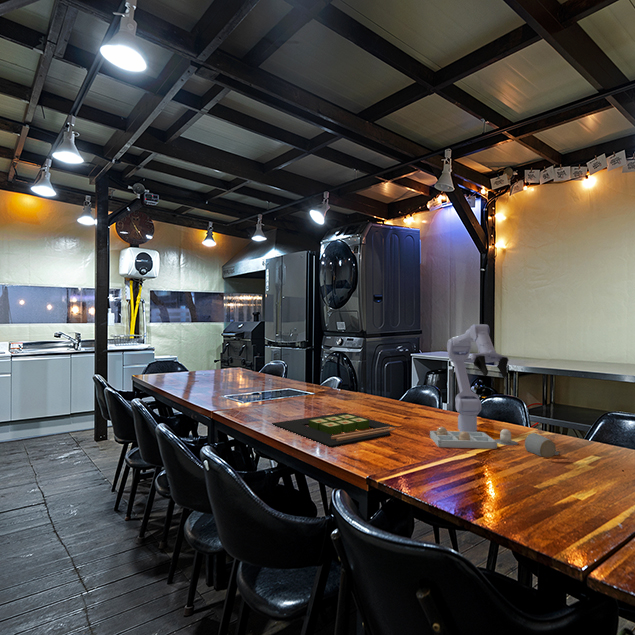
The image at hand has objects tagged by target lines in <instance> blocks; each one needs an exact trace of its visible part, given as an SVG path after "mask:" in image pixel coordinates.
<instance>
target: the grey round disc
mask: <svg viewBox="0 0 635 635" xmlns="http://www.w3.org/2000/svg"><path fill="white" fill-rule="evenodd" d="M494 440H495V441H496V442H497V445H498V444H499V445H503V446H517V445H518V444H519V443H518V442H517V441H515V440H512V439H511V443H502V442H500V438H498V439H494Z"/></svg>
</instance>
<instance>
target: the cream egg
mask: <svg viewBox="0 0 635 635" xmlns="http://www.w3.org/2000/svg"><path fill="white" fill-rule="evenodd" d="M499 435H500V436H499V439H500V442H502V443H511V440H512V433H511V431H510V430H509V429H507V428H503V429H502V430H500V433H499Z"/></svg>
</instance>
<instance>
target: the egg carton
mask: <svg viewBox="0 0 635 635" xmlns="http://www.w3.org/2000/svg"><path fill="white" fill-rule="evenodd" d="M460 433H461V432H460V430H458V431H454V430H453V431H452V430H451V431H449V430H447V435H437V430H429V438H430V439H431V440H432V441H433V443H435V445H436V446H437V447H438V448H457V449H458V448H459V449H460V448H461V449H462V448H463V449H465V448H466V449H493V450H494V449H498V443H497V442H496V441H495V440H496V439H493V437H491V436H489V435H488V434H487V433H486V432H484V431H477V432H468V433H469V435H470V440H459V434H460Z"/></svg>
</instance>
